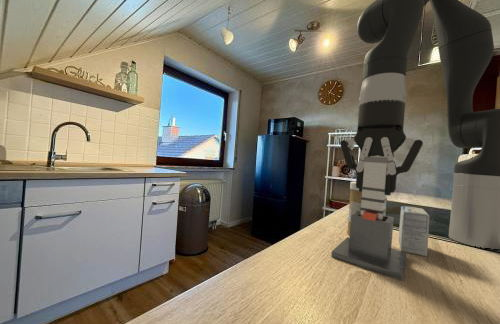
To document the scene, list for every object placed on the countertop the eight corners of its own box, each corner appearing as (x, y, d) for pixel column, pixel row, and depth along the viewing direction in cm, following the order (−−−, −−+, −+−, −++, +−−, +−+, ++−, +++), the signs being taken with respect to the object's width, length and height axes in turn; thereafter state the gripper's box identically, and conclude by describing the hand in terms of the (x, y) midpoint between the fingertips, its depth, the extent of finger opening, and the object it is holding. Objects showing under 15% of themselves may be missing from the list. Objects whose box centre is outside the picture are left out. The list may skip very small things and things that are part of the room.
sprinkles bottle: (351, 230, 57) (355, 180, 57) (369, 236, 53) (374, 183, 53) (343, 233, 54) (347, 181, 54) (361, 240, 50) (366, 183, 50)
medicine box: (427, 257, 43) (430, 215, 43) (400, 251, 45) (403, 210, 45) (421, 245, 50) (424, 208, 49) (397, 240, 52) (400, 205, 52)
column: (361, 239, 44) (368, 157, 43) (383, 245, 41) (390, 158, 41) (357, 244, 41) (364, 156, 40) (380, 251, 38) (387, 157, 38)
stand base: (347, 241, 49) (350, 201, 49) (406, 257, 42) (410, 211, 42) (331, 256, 40) (334, 208, 40) (402, 280, 33) (406, 222, 33)
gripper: (429, 104, 39) (421, 197, 39) (347, 111, 48) (341, 186, 48) (430, 92, 33) (421, 202, 33) (336, 103, 42) (330, 189, 42)
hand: (374, 192), depth 41 cm, fingers closed on column, 3 cm apart
